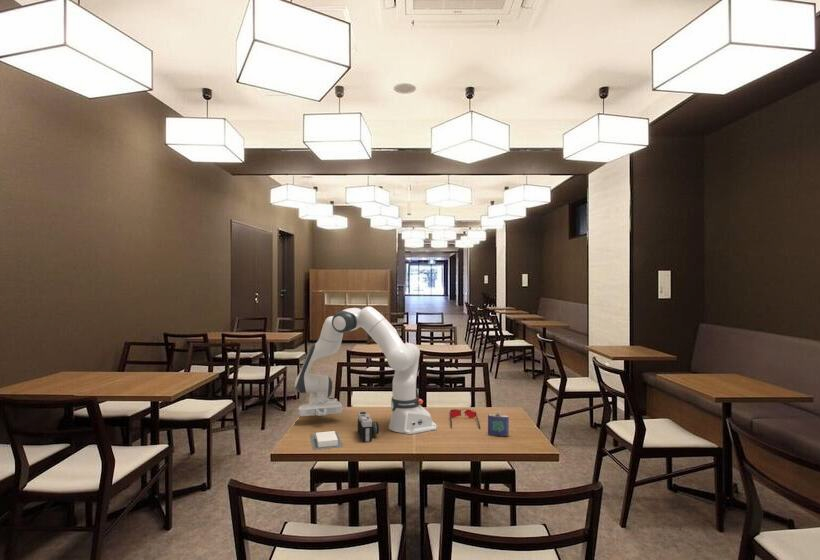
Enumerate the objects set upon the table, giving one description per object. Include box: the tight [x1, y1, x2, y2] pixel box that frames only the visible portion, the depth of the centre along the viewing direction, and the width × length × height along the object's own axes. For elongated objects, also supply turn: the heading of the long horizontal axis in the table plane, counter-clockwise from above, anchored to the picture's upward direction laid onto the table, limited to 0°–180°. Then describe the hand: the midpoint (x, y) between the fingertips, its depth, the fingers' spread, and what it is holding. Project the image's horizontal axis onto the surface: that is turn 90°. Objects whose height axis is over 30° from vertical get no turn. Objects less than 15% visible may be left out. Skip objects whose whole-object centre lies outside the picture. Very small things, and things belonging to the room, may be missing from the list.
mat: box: [309, 431, 344, 451], centre depth 185 cm, size 12×18×1 cm, turn 17°
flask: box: [487, 411, 510, 438], centre depth 195 cm, size 9×3×11 cm, turn 78°
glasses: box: [448, 408, 481, 430], centre depth 212 cm, size 14×16×5 cm
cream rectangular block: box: [315, 430, 338, 448], centre depth 184 cm, size 8×3×11 cm
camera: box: [357, 411, 380, 444], centre depth 191 cm, size 14×9×10 cm, turn 8°
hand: (322, 414), depth 202 cm, fingers closed
